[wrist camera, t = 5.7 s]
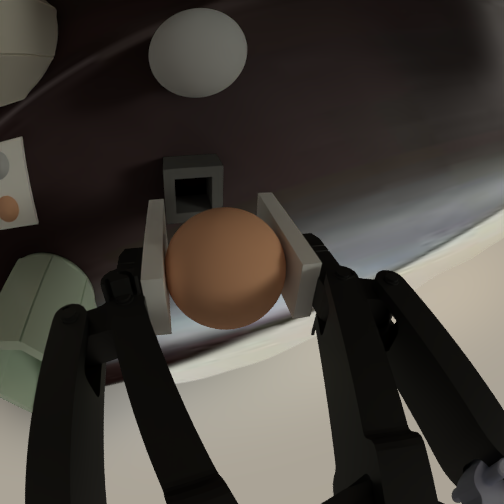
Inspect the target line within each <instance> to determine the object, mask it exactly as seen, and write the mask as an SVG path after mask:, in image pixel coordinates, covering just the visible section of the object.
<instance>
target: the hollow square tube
mask: <svg viewBox="0 0 504 504" xmlns="http://www.w3.org/2000/svg"><path fill="white" fill-rule="evenodd" d="M201 177H206V182H207V194H201V195H188V196H175V179H186V178H201ZM163 179H164V194H165V208H166V220H167V224H174V223H185V222H186V221H187V220H189V219H190V218H191V217H193V216H195V215H197V214H198V213H201V212H203V211H206V210H209V209H213V208H221V207H223V164H222V163H221V161H220V159H219V158H218V156H217V155H216V154H204V155H187V156H173V157H163Z"/></svg>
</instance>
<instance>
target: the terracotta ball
mask: <svg viewBox="0 0 504 504" xmlns="http://www.w3.org/2000/svg"><path fill="white" fill-rule="evenodd" d="M165 275H166V283H167V288H168V290H169V293H170V295H171V297H172V299H173V300H174V302H175V304H176V305H177V306H178V307H179V309H180V310H181V311H182V312H183V313H184V314H185V315H187V316H188V317H189V318H191V319H192V320H194V321H195V322H197V323H199V324H201V325H204V326H207V327H210V328H215V329H235V328H240V327H244V326H247V325H249V324H251V323H254V322H255V321H257V320H259V319H260V318H262V317H263V316H264V315H265V314H266V313H267V312H268V311H269V310H270V309H271V308H272V307H273V306H274V304H275V303H276V302H277V300H278V298H279V296H280V294H281V292H282V289H283V287H284V282H285V278H286V259H285V254H284V251H283V248H282V245H281V243H280V241H279V239H278V237H277V236H276V234H275V233H274V231H273V230H272V229H271V228H270V226H269V225H268V224H267V223H265V222H264V221H263V220H262V219H260V218H259V217H257V216H256V215H254V214H252V213H249V212H247V211H245V210H241V209H237V208H230V207H221V208H213V209H209V210H206V211H203V212H201V213H198V214H197V215H195V216H193V217H191V218H190V219H189V220H187V221H186V222H185V223H184V224H183V225H182V226H181V227H180V228H179V229H178V230H177V232H176V233H175V234H174V236H173V238H172V239H171V241H170V244H169V246H168V249H167V252H166V256H165Z"/></svg>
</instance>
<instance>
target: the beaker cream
mask: <svg viewBox="0 0 504 504" xmlns="http://www.w3.org/2000/svg"><path fill="white" fill-rule="evenodd" d="M56 15H57V10H56V8H55V7H53V6H52V5H50V4H49V3H48V2H47V1H46V0H0V107H2V106H5V105H8V104H11V103H14V102H17V101H21V100H24V99H25V98H26V96H27V95H28V93H29V92H30V91H31V90H32V89H33V88H34V87H35V86H36V85H37V83H38V82H39V81H40V80H41V78H42V77H43V75H44V74H45V72H46V71H47V69H48V67H49V65H50V63H51V61H52V60H53V59H54V57H53V56H55V50H56V46H57V41H58V22H57V18H56Z"/></svg>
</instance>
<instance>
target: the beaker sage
mask: <svg viewBox="0 0 504 504" xmlns="http://www.w3.org/2000/svg"><path fill="white" fill-rule="evenodd" d="M68 304H80V305H82V306H84V308H85V309H86V311H88V310H91V309H94V308H97V306H96V303H95V294H94V289H93V287H92V284H91V282H90V280H89V279H88V277H87V276H86V274H85V273H84V272H83V271H82V270H81V269H80V268H79V267H78V266H77V265H75V264H74V263H73V262H71V261H70V260H68V259H66V258H64V257H62V256H59V255H56V254H52V253H45V252H40V253H33V254H30V255H27V256H25V257H24V258H19V259H18V260H17V262H16V264H15V266H14V268H13V269H12V271H11V273H10V275H9V277H8V279H7V281H6V283H5V284H4V286H3V288H2V290H1V292H0V398H2V399H4V400H6V401H8V402H10V403H12V404H14V405H16V406H18V407H21V408H22V409H25V410H27V411H29V412H31V413H32V411H33V404H34V398H35V393H36V387H37V382H38V377H39V372H40V368H41V363H42V359H43V355H44V350H45V346H46V342H47V339H48V335H49V331H50V327H51V324H52V320H53V317H54V315H55V313H56V312H57V311H58V310H59V309H60V308H61V307H63V306H65V305H68Z"/></svg>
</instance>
